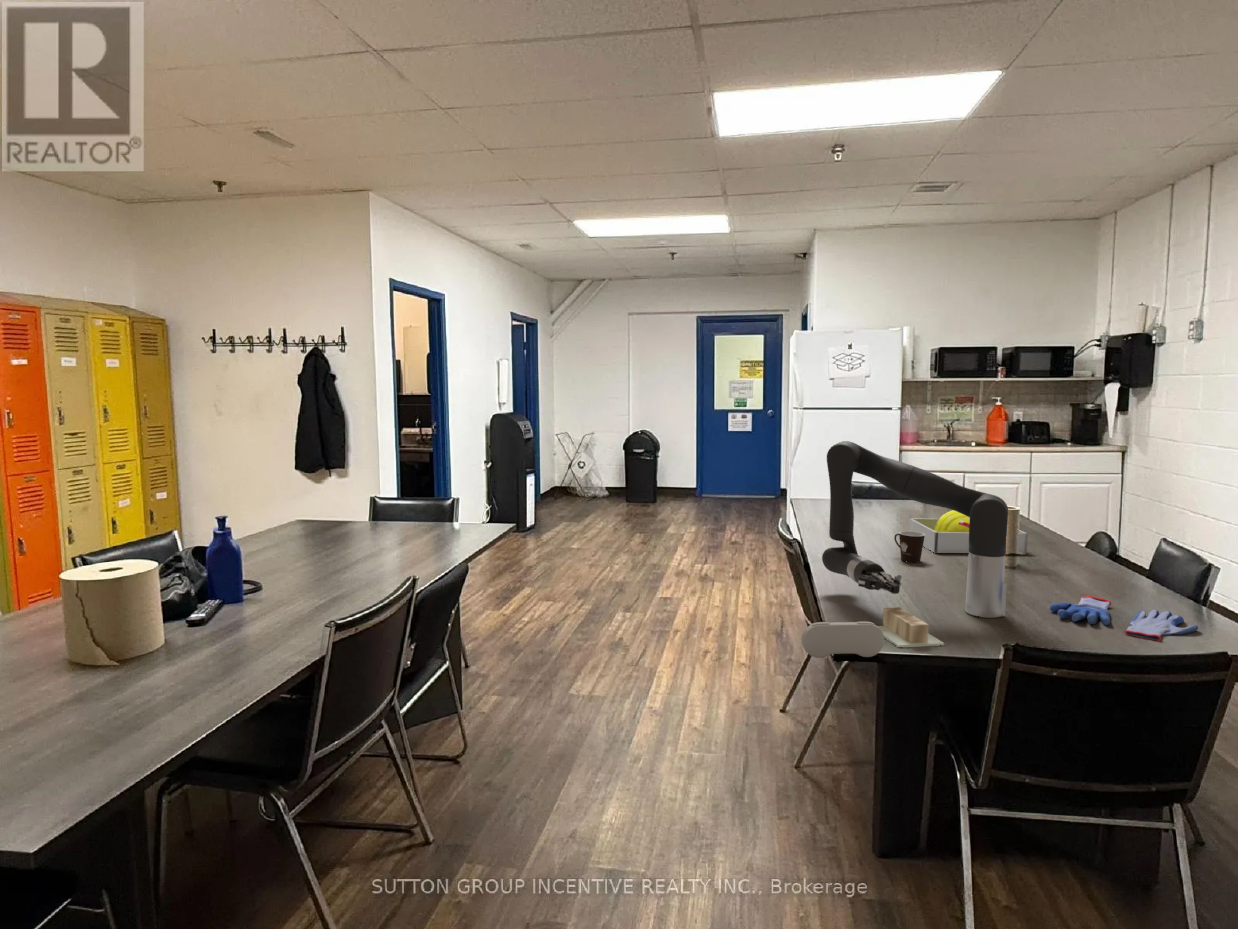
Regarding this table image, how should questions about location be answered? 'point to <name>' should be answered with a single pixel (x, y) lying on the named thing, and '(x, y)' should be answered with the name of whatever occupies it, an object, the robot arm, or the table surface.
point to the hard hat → (952, 522)
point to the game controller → (842, 639)
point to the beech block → (905, 625)
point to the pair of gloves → (1139, 626)
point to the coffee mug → (910, 545)
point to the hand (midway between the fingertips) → (896, 590)
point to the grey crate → (950, 537)
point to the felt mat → (904, 643)
